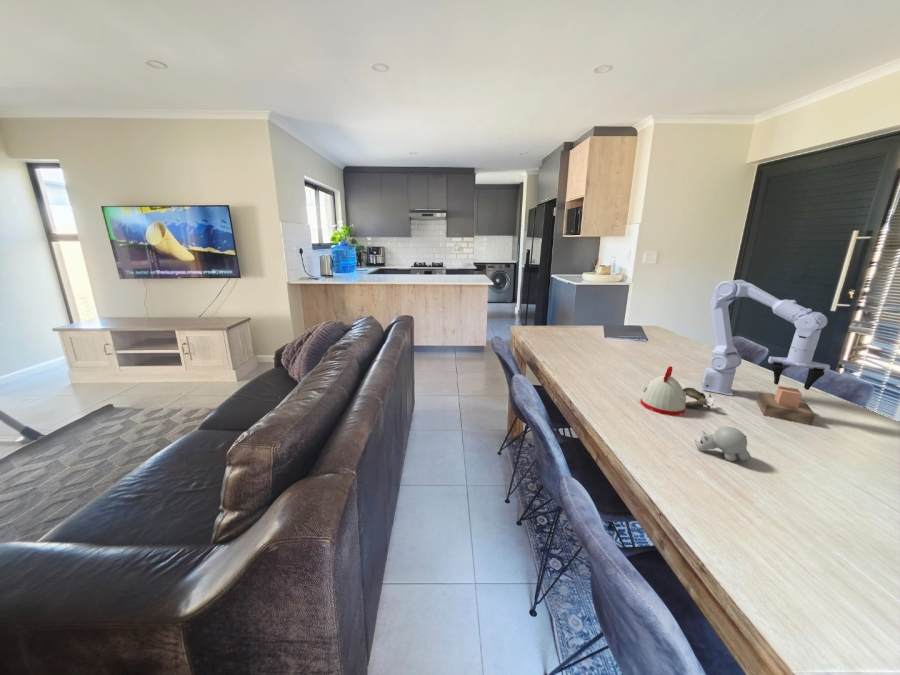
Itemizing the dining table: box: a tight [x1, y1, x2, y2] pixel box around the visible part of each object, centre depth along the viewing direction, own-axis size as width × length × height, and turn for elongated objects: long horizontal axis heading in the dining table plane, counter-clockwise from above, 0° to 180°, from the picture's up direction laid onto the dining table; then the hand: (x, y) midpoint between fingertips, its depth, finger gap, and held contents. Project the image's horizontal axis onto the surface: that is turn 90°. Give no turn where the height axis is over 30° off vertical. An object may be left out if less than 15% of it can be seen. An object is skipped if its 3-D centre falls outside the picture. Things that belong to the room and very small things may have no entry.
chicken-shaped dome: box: [639, 365, 687, 416], centre depth 122 cm, size 14×14×15 cm
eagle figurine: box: [682, 387, 715, 410], centre depth 122 cm, size 8×7×9 cm
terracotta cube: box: [774, 385, 803, 408], centre depth 117 cm, size 5×5×5 cm
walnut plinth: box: [756, 392, 816, 426], centre depth 118 cm, size 12×12×4 cm
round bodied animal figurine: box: [693, 426, 752, 462], centre depth 95 cm, size 7×12×8 cm, turn 60°
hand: (790, 386), depth 116 cm, fingers open, 7 cm apart
